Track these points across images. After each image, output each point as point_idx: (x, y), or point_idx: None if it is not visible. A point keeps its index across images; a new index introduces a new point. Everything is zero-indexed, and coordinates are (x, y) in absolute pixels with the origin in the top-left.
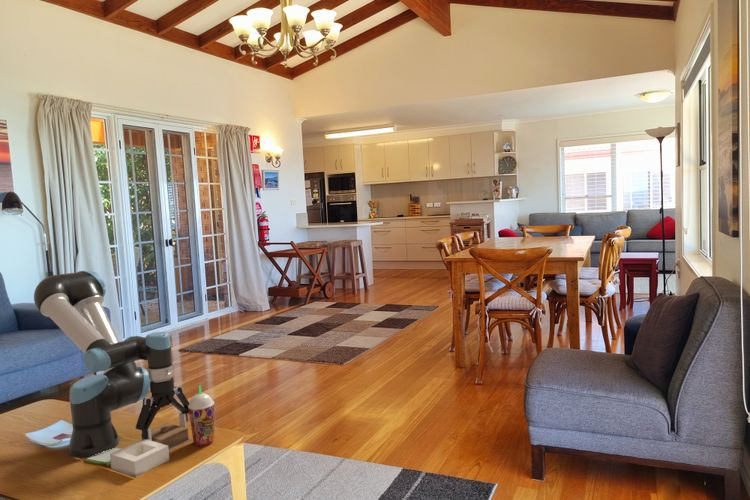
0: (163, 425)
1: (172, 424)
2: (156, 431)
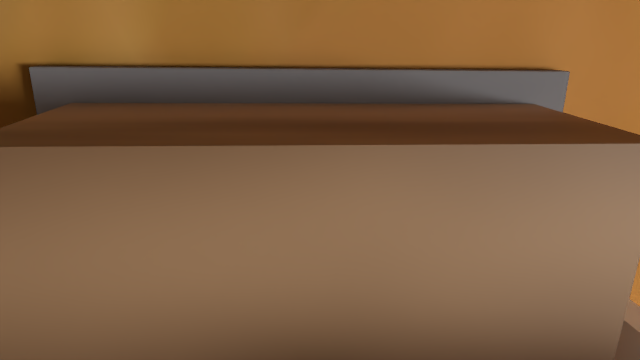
0: (532, 179)
1: (625, 296)
2: (241, 313)
